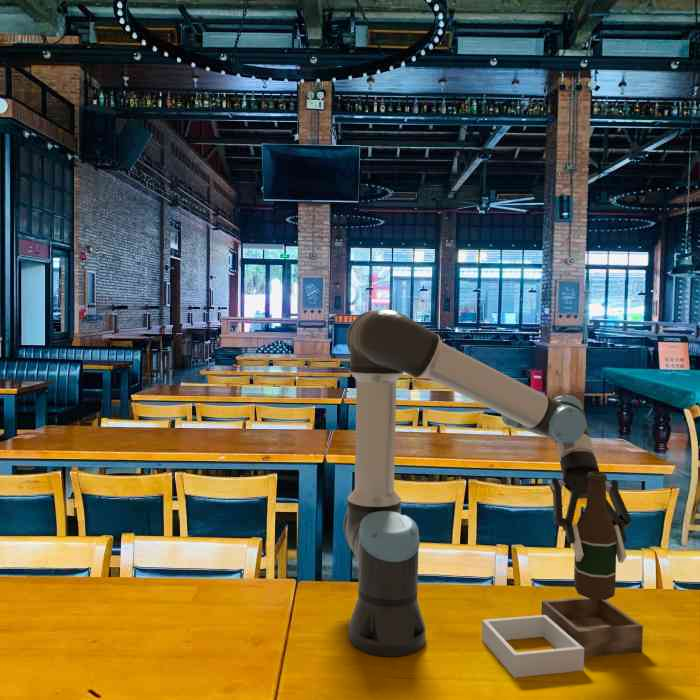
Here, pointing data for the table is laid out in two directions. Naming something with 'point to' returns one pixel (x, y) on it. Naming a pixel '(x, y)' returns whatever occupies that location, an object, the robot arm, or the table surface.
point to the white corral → (532, 662)
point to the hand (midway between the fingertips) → (601, 558)
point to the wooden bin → (595, 625)
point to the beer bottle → (596, 544)
